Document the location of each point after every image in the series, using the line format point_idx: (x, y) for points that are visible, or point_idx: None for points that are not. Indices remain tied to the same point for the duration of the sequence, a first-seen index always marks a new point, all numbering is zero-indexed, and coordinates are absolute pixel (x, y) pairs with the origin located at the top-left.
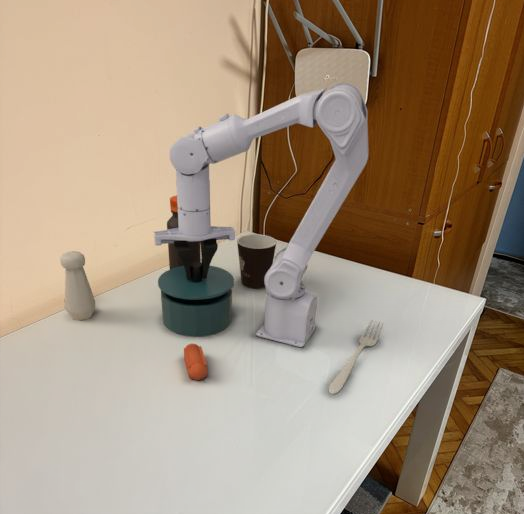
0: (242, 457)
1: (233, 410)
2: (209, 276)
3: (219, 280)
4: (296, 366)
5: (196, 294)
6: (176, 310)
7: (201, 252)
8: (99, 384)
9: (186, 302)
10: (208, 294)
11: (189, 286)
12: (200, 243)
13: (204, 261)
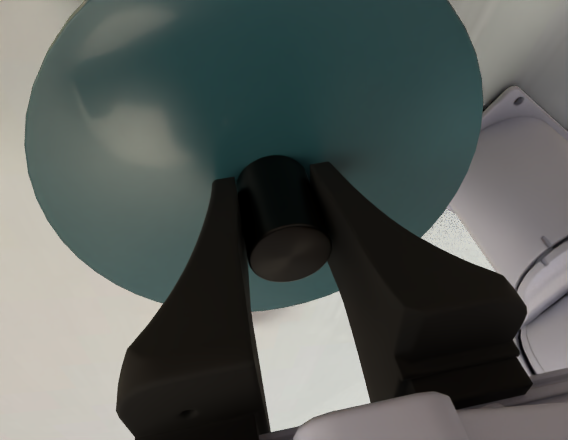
0: (279, 407)
1: (284, 362)
2: (353, 148)
3: (390, 189)
4: None
5: (259, 296)
6: None
7: (360, 259)
8: (6, 341)
9: None
10: (307, 294)
11: None
12: (386, 289)
13: (347, 313)
